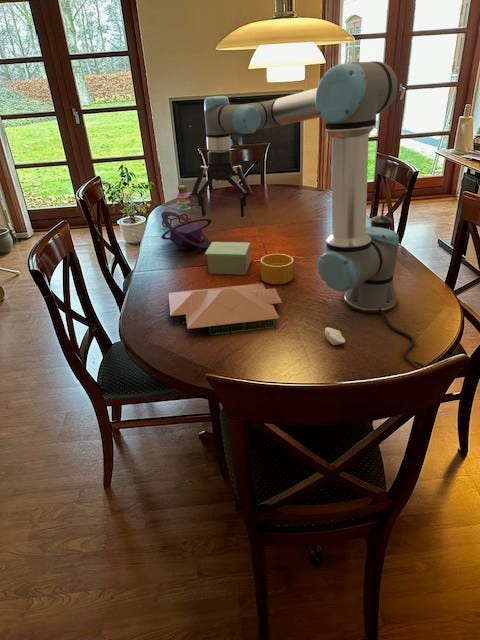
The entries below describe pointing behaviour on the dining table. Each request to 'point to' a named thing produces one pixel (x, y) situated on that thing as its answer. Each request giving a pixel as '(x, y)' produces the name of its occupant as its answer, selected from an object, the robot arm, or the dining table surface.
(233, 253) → the chest lid
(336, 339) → the white rock
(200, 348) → the dining table surface
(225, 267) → the chest
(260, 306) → the house
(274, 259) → the bowl
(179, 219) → the glasses
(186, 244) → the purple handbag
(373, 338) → the dining table surface
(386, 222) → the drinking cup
